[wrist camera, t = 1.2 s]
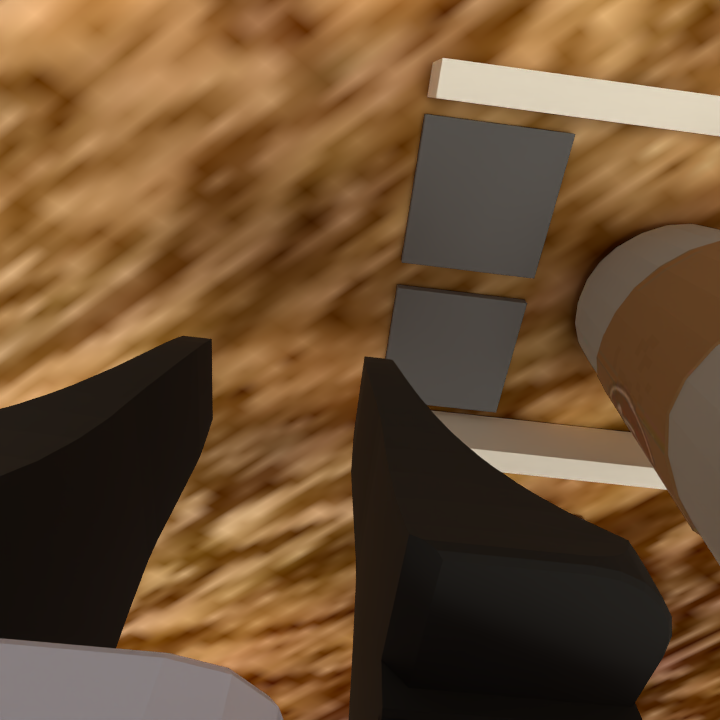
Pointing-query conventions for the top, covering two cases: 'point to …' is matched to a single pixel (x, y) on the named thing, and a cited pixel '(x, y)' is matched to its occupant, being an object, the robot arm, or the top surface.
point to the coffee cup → (664, 358)
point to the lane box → (591, 101)
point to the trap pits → (472, 252)
